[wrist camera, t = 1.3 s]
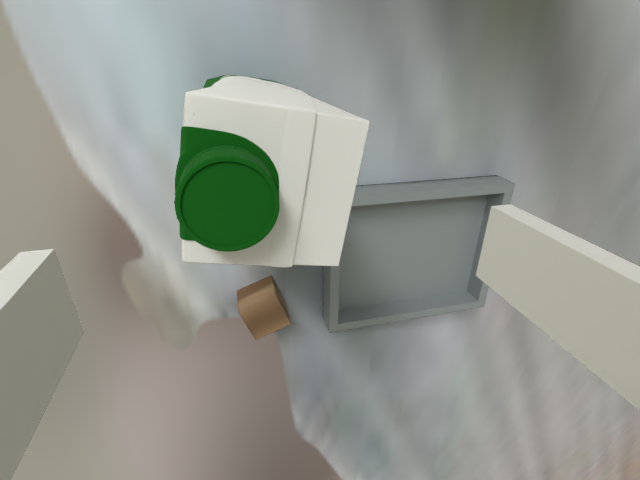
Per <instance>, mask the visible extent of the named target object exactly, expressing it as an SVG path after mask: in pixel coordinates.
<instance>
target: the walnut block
mask: <svg viewBox="0 0 640 480" xmlns="http://www.w3.org/2000/svg"><path fill="white" fill-rule="evenodd" d="M237 297H238V310H239V314H240V316H241V317H242V319H243V321H244V322H245V324H246V325H247V327H248V329H249V330H250V332H251V333H252V335H253V336H254V338H255V340H257V339H259V338H261V337H263V336H266V335H268V334H270V333H272V332H274V331H277V330H279V329H281V328H283V327H285V326H288V325H290V324H291V322H290V318H289V315H288V311H287V307H286V304H285V301H284V299H283V297H282V295H281V293H280V291H279V290H278V288H277V286H276V284H275V282H274V280H273V278H272V276H269V277H267V278H264V279H262V280H260V281H258V282H255V283H253V284H251V285H249V286H246V287H244V288H242V289H240V290H238V291H237Z"/></svg>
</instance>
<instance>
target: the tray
mask: <svg viewBox="0 0 640 480" xmlns="http://www.w3.org/2000/svg"><path fill="white" fill-rule="evenodd" d="M514 185H515V183H513V182H511V181H508V180H506V179H504V178H501V177H499V176H496V175H494V176H480V177H467V178H454V179H440V180H427V181H414V182H400V183H387V184H374V185H361V186H356V188H355V193H354V197H353V202H352V206H351V211H350V215H349V220H348V225H347V229H346V234H345V238H344V243H343V248H342V252H341V257H340V261H339V265H338V266H323V318H324V321H325V323H326V326H327V328H328V331H329V333H330V332H336V331H342V330H348V329H354V328H360V327H366V326H372V325H378V324H384V323H390V322H396V321H402V320H408V319H414V318H420V317H426V316H432V315H438V314H444V313H450V312H456V311H462V310H468V309H474V308H480V307H484V303H485V299H486V295H487V292H488V288H489V286H488V285H487V284H485V283H484V282H483V281H482V280H481V279H479V278H478V277H477V276H476V272H477V267H478V263H479V258H480V254H481V250H482V245H483V241H484V236H485V232H486V227H487V223H488V218H489V214H490V210H491V206H498V205H508V204H510V201H511V197H512V193H513V189H514Z"/></svg>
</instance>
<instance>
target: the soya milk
mask: <svg viewBox="0 0 640 480" xmlns="http://www.w3.org/2000/svg"><path fill="white" fill-rule="evenodd" d="M369 124H370V121H368V120H366V119H363V118H360V117H358V116H355V115H353V114H351V113H348V112H346V111H344V110H341V109H339V108H337V107H334V106H332V105H330V104H327V103H325V102H323V101H320V100H318V99H316V98H313V97H311V96H309V95H307V94H306V93H305V92H303V91H301V90H297V89H294V88H292V87H289V86H286V85H283V84H281V83H278V82H274V81H270V80H265V79H259V78H253V77H246V76H237V75H224V76H220V77H216V78H212V79H208V80H207V81H206V83H205V85H204V87H203V89H198V90H194V91H190V92H186V93H185V104H184V116H183V127H182V129H181V146H180V158H179V161H178V165H177V170H176V177H175V195H176V196H175V202H174V203H175V210H176V215H177V219H178V220H179V223H180V237H181V238H182V260H183V261H184V262H188V263H210V264H234V265H258V266H270V267H288V268H289V267H292V266H293V265H314V266H338V265H339V261H340V257H341V252H342V248H343V243H344V238H345V234H346V229H347V225H348V220H349V215H350V211H351V206H352V202H353V197H354V193H355V188H356V183H357V179H358V174H359V170H360V165H361V161H362V156H363V151H364V147H365V142H366V138H367V133H368V128H369Z"/></svg>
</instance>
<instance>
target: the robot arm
mask: <svg viewBox="0 0 640 480" xmlns="http://www.w3.org/2000/svg"><path fill="white" fill-rule="evenodd" d="M476 276H477V277H478V278H479V279H481V280H482V281H483V282H484V283H485V284H487V285H488V286H489V287H490V288H491V289H493V290H494V291H495V292H496V293H498V294H499V295H500V296H501V297H502V298H504V299H505V300H506V301H507V302H508V303H510V304H511V305H512V306H513V307H514V308H516V309H517V310H518V311H519V312H521V313H522V314H523V315H524V316H525V317H527V318H528V319H529V320H530V321H531V322H533V323H534V324H535V325H536V326H538V327H539V328H540V329H541V330H542V331H544V332H545V333H546V334H547V335H548V336H550V337H551V338H552V339H553V340H555V341H556V342H557V343H558V344H559V345H561V346H562V347H563V348H564V349H565V350H567V351H568V352H569V353H570V354H571V355H573V356H574V357H575V358H576V359H578V360H579V361H580V362H581V363H582V364H584V365H585V366H586V367H587V368H588V369H590V370H591V371H592V372H593V373H595V374H596V375H597V376H598V377H599V378H601V379H602V380H603V381H604V382H605V383H607V384H608V385H609V386H610V387H611V388H613V389H614V390H615V391H616V392H618V393H619V394H620V395H621V396H622V397H624V398H625V399H626V400H627V401H628V402H630V403H631V404H632V405H633V406H635V407H636V408H637V409H638V410H639V411H640V267H639V266H637V265H635V264H633V263H631V262H629V261H627V260H625V259H623V258H621V257H618V256H616V255H614V254H612V253H610V252H608V251H606V250H604V249H602V248H600V247H598V246H596V245H594V244H592V243H590V242H587V241H585V240H583V239H581V238H579V237H577V236H575V235H573V234H571V233H569V232H567V231H565V230H563V229H561V228H558V227H556V226H554V225H552V224H550V223H548V222H546V221H544V220H542V219H540V218H538V217H536V216H534V215H532V214H530V213H527V212H525V211H523V210H521V209H519V208H517V207H515V206H513V205H511V204H508V205H498V206H491V210H490V214H489V218H488V223H487V227H486V232H485V236H484V241H483V245H482V250H481V254H480V258H479V263H478V267H477V272H476ZM83 334H84V331H83V328H82V325H81V322H80V319H79V317H78V314H77V311H76V308H75V305H74V303H73V300H72V297H71V294H70V292H69V289H68V286H67V284H66V281H65V278H64V275H63V272H62V270H61V267H60V264H59V261H58V258H57V256H56V253H55V250H54V249H48V250H38V251H28V252H20V253H19V254H18V255H17V256H16V257H15V258H13V260H11V261H10V262H9V263H8V264H7V265H6V266H5V267H4V268H3V269H2V270H1V271H0V480H11V479H12V477H13V475H14V473H15V471H16V469H17V467H18V465H19V463H20V461H21V459H22V457H23V455H24V453H25V451H26V449H27V447H28V445H29V443H30V441H31V439H32V437H33V435H34V433H35V431H36V429H37V427H38V425H39V423H40V421H41V419H42V417H43V415H44V412H45V411H46V409H47V406H48V404H49V402H50V400H51V399H52V396H53V394H54V392H55V390H56V388H57V386H58V384H59V382H60V380H61V378H62V376H63V374H64V372H65V370H66V368H67V366H68V364H69V362H70V360H71V358H72V356H73V354H74V352H75V350H76V348H77V346H78V344H79V342H80V340H81V338H82V336H83Z"/></svg>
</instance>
